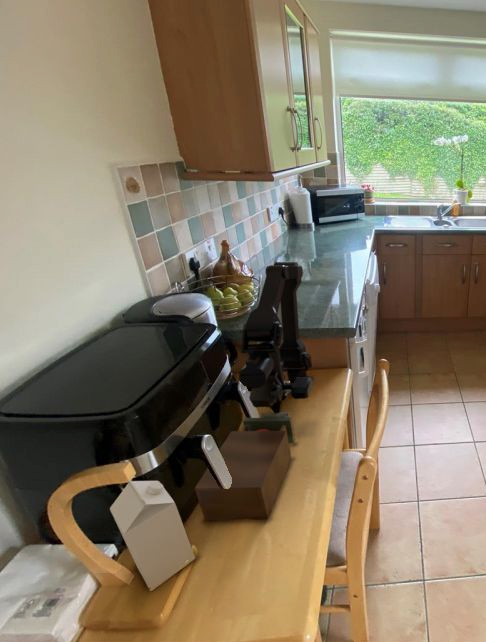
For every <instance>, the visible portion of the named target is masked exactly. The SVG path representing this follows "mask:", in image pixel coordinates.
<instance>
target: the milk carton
mask: <svg viewBox="0 0 486 642" xmlns="http://www.w3.org/2000/svg"><path fill="white" fill-rule="evenodd" d="M109 511H110V513H111V515H112V517H113V520H114V521H115V523H116V525H117V528H118V529H119V532H120V534H121V536H122V538H123V540H124V543H125V545H126V548H127V549H128V551H129V553H130V556H131V557H132V560H133V561H134V564H135V565H136V567H137V570H138V571H139V573H140V575H141V577H142V579H143V581H144V582H145V585H146V586H147V588H148V589H149V588H151V587H152V586H153V587H152V588H151V589H149V591H150V592H152V591H154V590H156V588H158V587H160V586H162V584H163V583H165V582H167V580H169V579H170V578H172V577H173V576H174V575H175V574H177V573H178V572H180V570H182V569H183V568H185V567H186V566H187V565H189V564H190V563H191V562H193V561H194V560H195V559H196V556H195V554H194V551H193V548H192V545H191V543H190V540H189V537H188V534H187V532H186V529H185V527H184V524H183V521H182V517H181V515H180V513H179V510H178V508H177V505H176V502H175V501H174V499H173V498H172V497H171V495H170V493H169V492H168V491H167V490H166V489H165V487H164V485H163V484H162V483H161V482H160V481H159V480H131V481H130V482H129V481H128V483H127V484H126V486H125V487H124V488H123V490H121V493H120V494H119V495H118V497H117V498H116V499H115V501H114V502H113V503H112V504H111V506H110V507H109ZM187 560H188V561H187ZM186 561H187V562H186ZM185 562H186V563H185ZM182 564H183V565H182ZM181 565H182V566H181ZM178 567H179V568H178ZM177 568H178V569H177ZM174 570H175V571H174ZM173 571H174V572H173ZM169 574H170V575H169ZM166 576H167V577H166ZM163 578H164V579H163ZM162 579H163V580H162ZM160 580H161V581H160ZM159 581H160V582H159ZM158 582H159V583H158ZM156 583H157V584H156ZM155 584H156V585H155ZM154 585H155V586H154Z"/></svg>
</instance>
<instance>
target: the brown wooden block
mask: <svg viewBox="0 0 486 642" xmlns="http://www.w3.org/2000/svg"><path fill="white" fill-rule="evenodd" d="M219 450H220V452H221V454H222V456H223V458H224V461H225V464H226V466H227V468H228V471H229V473H230V475H231V477H232V484H231V487H230V488H229V489H221V488H220V487H219V486H218V484H217V482H216V480H215V479H214V477H213V476H212V474H211V473H210V471H209V469H208V467H207V468H206V470H205V471H204V473H203V474H202V476H201V478H200V479H199V481H198V482H197V484H196V486H195V487H194V490H195V494H196V498H197V500H198V503H199V506H200V510H201V512H202V515H203V518H204V521H237V520H239V521H241V520H242V521H243V520H268V519H269V518H270V516H271V512H272V510H273V507H274V504H275V503H276V500H277V497H278V495H279V493H280V490H281V487H282V485H283V482H284V479H285V478H286V474H287V473H288V470H289V467H290V464H291V462H292V456H291V449H290V443H288V438H287V432H286V431H241V430H236V431H234V430H233V431H232V430H231V431H230V432H229V434H228V436H227V437H226V439H225V440H224V442H223V444H222V445H221V446H220V448H219Z"/></svg>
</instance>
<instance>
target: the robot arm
mask: <svg viewBox="0 0 486 642" xmlns="http://www.w3.org/2000/svg"><path fill="white" fill-rule="evenodd" d="M303 275H304V269H303V266H302V265H300V264H299V262H298V261H275V262H274V263H273V264H271V265H267V266H266V268H265V279H264V283H263V286H262V290H261V293H260V296H259V301H258V304H257V306H256V308H254V309H252V311H250V312H249V314H248V316H247V319H246V321H245V323H243V327H242V328H243V329H242V336H241V337H242V340H241V350H240V352H241V354H248V358H247V360H245V364H244V365H243V367H242V369H241V370H240V371H239V374H238V380H237V382H238V381H240V382H241V383H242V384H243V385H244V386H246V387H247V389H248V392H250V394H249V398H248V399H249V401H250V402H251V405H252V406H253V407H254V408H269V409H270V410H271V411H272V413H282V412H281V411H282V409H283V404H284V401H286V400H287V399H288V397H289V394H290V397H292V398H293V399H295V400H305V399H307V398H309V397H310V394H311V391H312V390H313V386H314V380H313V379H312V376H311V375H308V373H307V371H308V372H309V370H310V369H311V368H313V363H312V356H311V355H310V354H309V353H308V352H307V349H306V345H305V343H304V342H303V341H302V340H301V339H300V329H299V328H300V326H299V313H298V312H299V311H298V298H297V297H298V296H297V291H298V289H299V287H300V285H302V278H303ZM279 308H280V309H279ZM279 310H280V318H281V321H280V318H279V315H278V313H279ZM250 342H251V343H250ZM284 372H286V374H284ZM286 376H287V377H286ZM286 379H287V380H286Z"/></svg>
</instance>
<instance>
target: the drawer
mask: <svg viewBox="0 0 486 642" xmlns="http://www.w3.org/2000/svg"><path fill="white" fill-rule="evenodd" d="M242 423H243V426H242V428H241V429H240V431H257V430H260V429H268V430H270V431H286V432H287V438H288V443H289V444H295V443H296V442H295V441H296V436H295V430H294V424H293V417H291V412H280V413H274V412H261V414H260V417H245V418H244V419H243V420H242Z"/></svg>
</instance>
